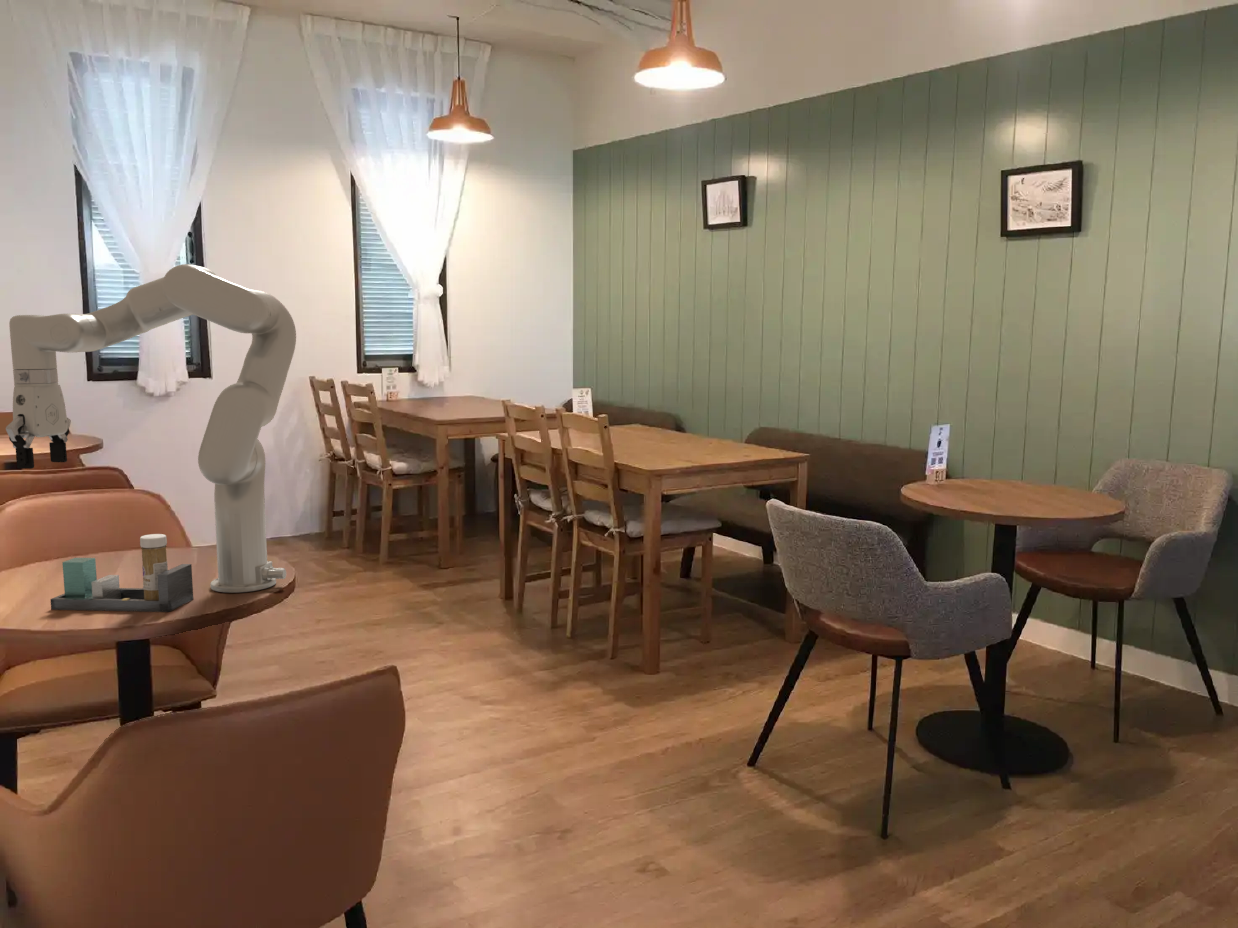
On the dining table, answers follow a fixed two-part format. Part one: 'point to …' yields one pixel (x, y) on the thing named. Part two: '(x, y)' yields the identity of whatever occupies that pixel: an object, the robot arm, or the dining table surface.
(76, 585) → the press carriage
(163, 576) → the frame
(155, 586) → the sprinkles bottle
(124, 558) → the dining table surface
